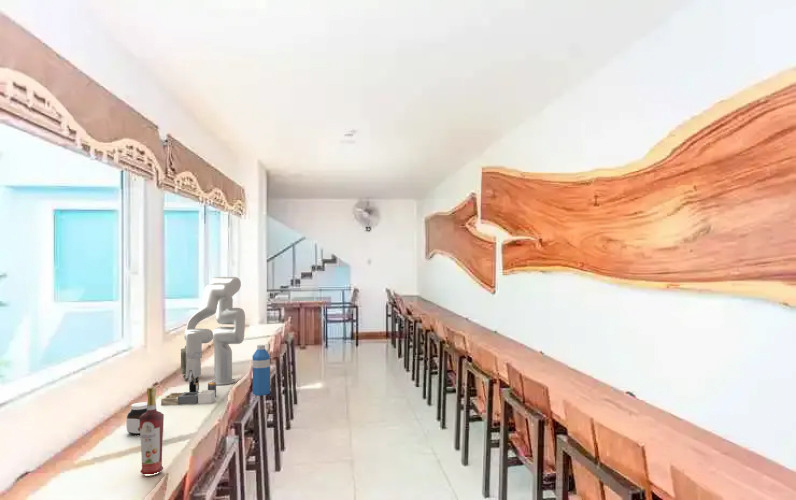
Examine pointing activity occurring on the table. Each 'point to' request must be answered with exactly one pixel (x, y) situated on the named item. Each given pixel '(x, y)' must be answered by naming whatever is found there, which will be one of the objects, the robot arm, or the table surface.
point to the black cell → (212, 386)
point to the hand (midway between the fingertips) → (194, 390)
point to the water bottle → (261, 371)
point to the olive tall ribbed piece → (183, 362)
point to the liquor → (151, 436)
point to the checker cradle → (188, 398)
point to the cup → (206, 397)
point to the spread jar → (135, 417)
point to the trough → (170, 399)
